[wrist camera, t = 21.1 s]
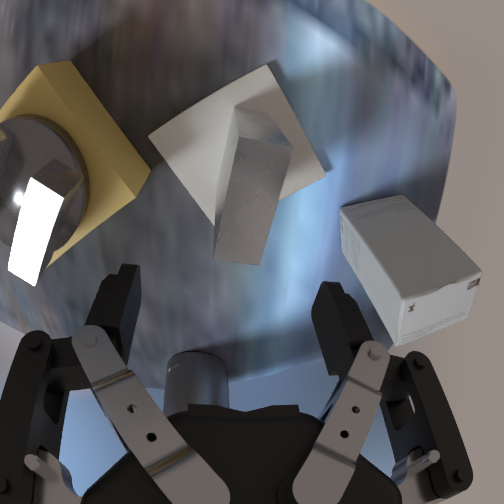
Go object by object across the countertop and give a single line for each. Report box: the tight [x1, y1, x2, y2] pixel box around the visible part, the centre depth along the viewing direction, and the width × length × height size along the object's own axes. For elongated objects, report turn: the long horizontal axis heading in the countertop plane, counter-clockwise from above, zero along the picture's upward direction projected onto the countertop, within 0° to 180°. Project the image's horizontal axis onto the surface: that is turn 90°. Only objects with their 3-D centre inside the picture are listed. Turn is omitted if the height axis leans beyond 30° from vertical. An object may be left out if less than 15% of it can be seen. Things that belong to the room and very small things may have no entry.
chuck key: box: [213, 106, 294, 265], centre depth 22 cm, size 3×8×11 cm, turn 167°
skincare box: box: [339, 194, 482, 347], centre depth 27 cm, size 8×6×15 cm
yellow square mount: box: [0, 61, 151, 268], centre depth 23 cm, size 14×14×6 cm
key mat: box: [148, 64, 326, 226], centre depth 27 cm, size 12×12×1 cm
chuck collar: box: [0, 114, 90, 286], centre depth 18 cm, size 12×12×6 cm
